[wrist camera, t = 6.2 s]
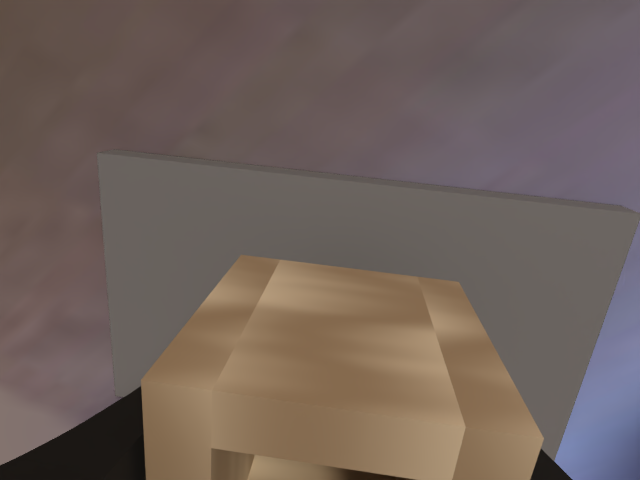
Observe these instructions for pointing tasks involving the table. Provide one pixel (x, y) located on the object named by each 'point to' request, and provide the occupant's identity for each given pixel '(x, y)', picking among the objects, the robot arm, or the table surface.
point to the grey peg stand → (362, 257)
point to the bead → (334, 383)
